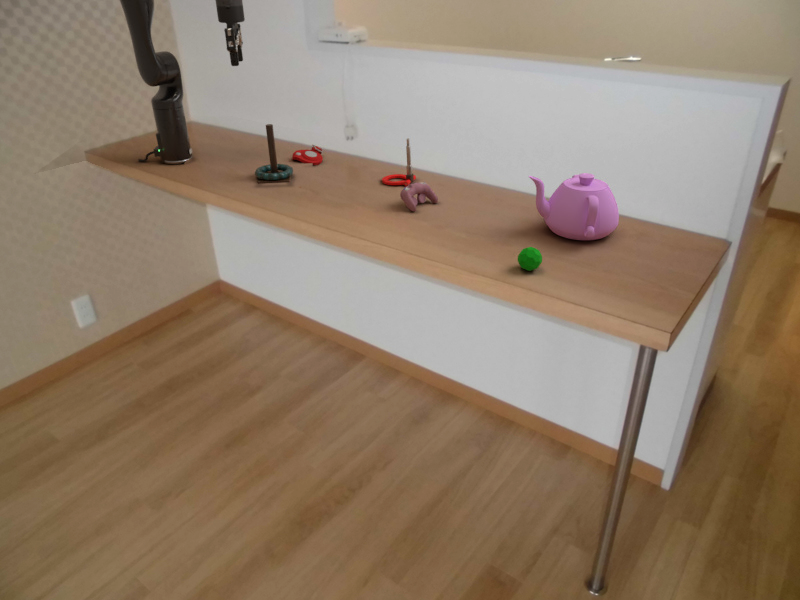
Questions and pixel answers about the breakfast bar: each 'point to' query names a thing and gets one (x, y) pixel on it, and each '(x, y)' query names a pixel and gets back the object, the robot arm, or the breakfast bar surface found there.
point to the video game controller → (421, 191)
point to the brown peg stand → (272, 157)
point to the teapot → (579, 208)
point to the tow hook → (408, 178)
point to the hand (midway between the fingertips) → (237, 63)
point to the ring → (274, 176)
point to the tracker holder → (309, 155)
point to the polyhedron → (530, 258)
